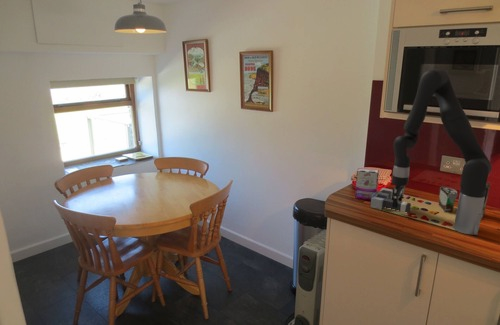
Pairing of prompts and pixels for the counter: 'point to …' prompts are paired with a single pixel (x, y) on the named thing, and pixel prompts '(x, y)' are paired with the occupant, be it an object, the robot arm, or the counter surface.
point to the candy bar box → (366, 183)
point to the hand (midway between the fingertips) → (396, 204)
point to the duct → (377, 201)
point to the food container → (447, 198)
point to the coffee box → (485, 199)
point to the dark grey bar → (401, 205)
